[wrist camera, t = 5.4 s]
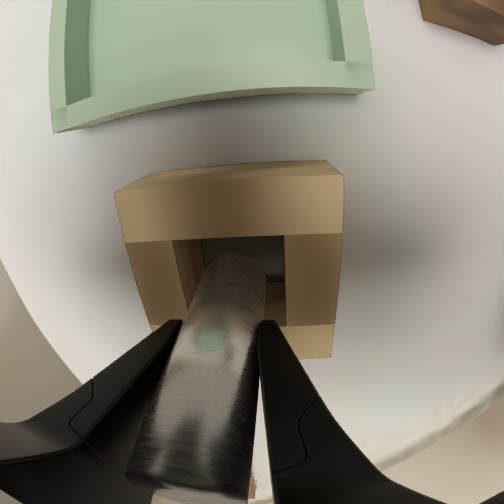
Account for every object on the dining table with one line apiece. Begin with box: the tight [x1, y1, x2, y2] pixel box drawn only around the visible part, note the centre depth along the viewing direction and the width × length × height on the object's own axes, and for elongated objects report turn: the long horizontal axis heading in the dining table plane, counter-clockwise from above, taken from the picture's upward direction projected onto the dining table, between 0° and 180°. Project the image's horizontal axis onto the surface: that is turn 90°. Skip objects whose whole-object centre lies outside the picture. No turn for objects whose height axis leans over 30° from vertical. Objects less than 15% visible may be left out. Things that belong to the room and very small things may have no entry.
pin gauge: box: [125, 253, 266, 504], centre depth 7 cm, size 2×2×8 cm
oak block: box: [114, 160, 344, 359], centre depth 12 cm, size 8×8×4 cm
